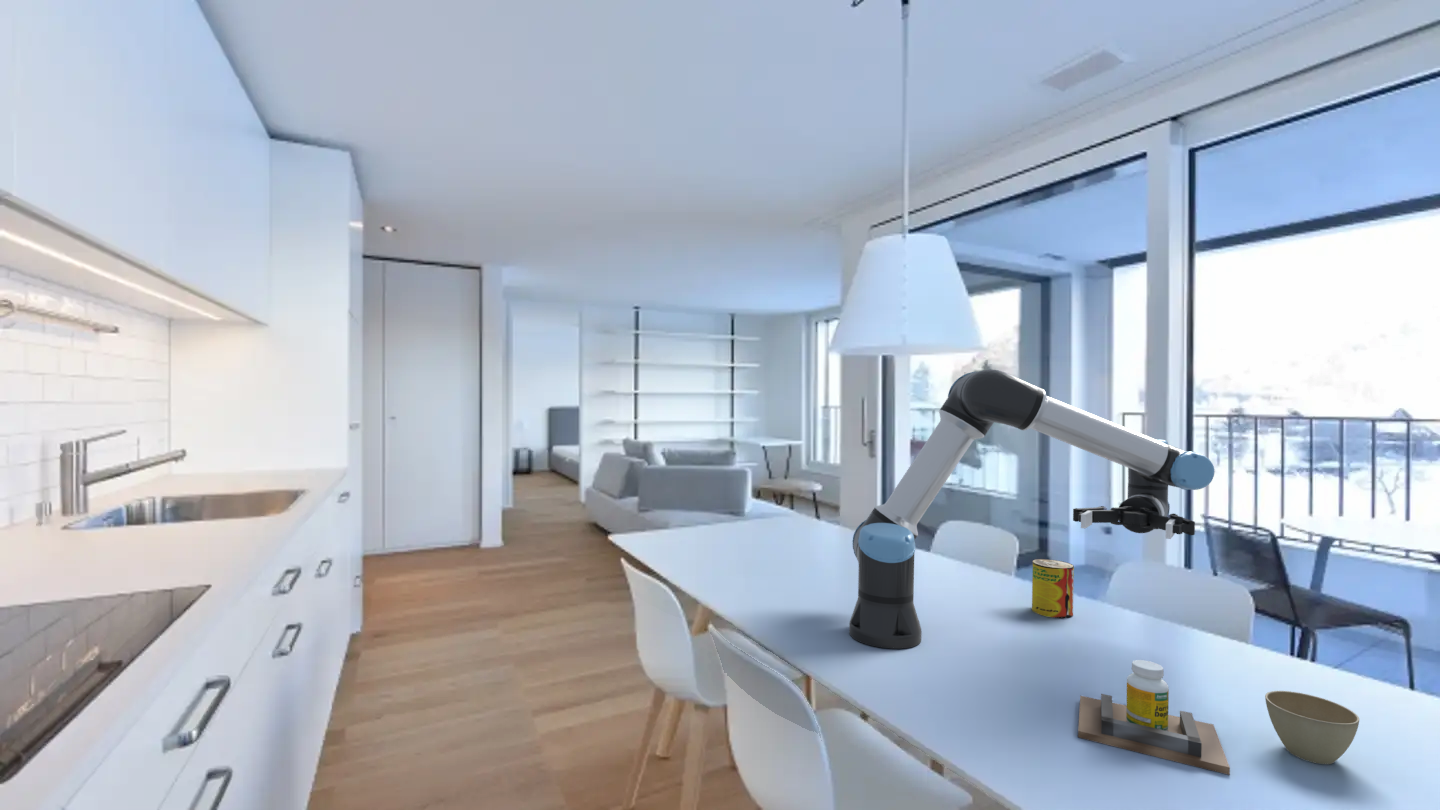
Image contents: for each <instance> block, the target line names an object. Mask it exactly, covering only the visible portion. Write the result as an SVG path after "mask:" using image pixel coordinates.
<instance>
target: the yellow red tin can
mask: <svg viewBox="0 0 1440 810" xmlns="http://www.w3.org/2000/svg"><path fill="white" fill-rule="evenodd" d="M1074 568H1075V566H1074V564H1072V563H1070V562H1066V561H1064V560H1063V561H1062V560H1057V559H1046V558H1044V559H1043V558H1040V559H1034V560H1032V577H1031V578H1032V583H1031V586H1032V587H1031V593H1032V594H1031V610H1032V612H1033V613H1035V614H1038V615H1040V616H1044V617H1048V618H1054V619H1069V618H1073V616H1074V587H1075V585H1074V583H1075V582H1074V579H1075V577H1074V576H1075V575H1074V574H1075V572H1074V571H1075V569H1074Z"/></svg>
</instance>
